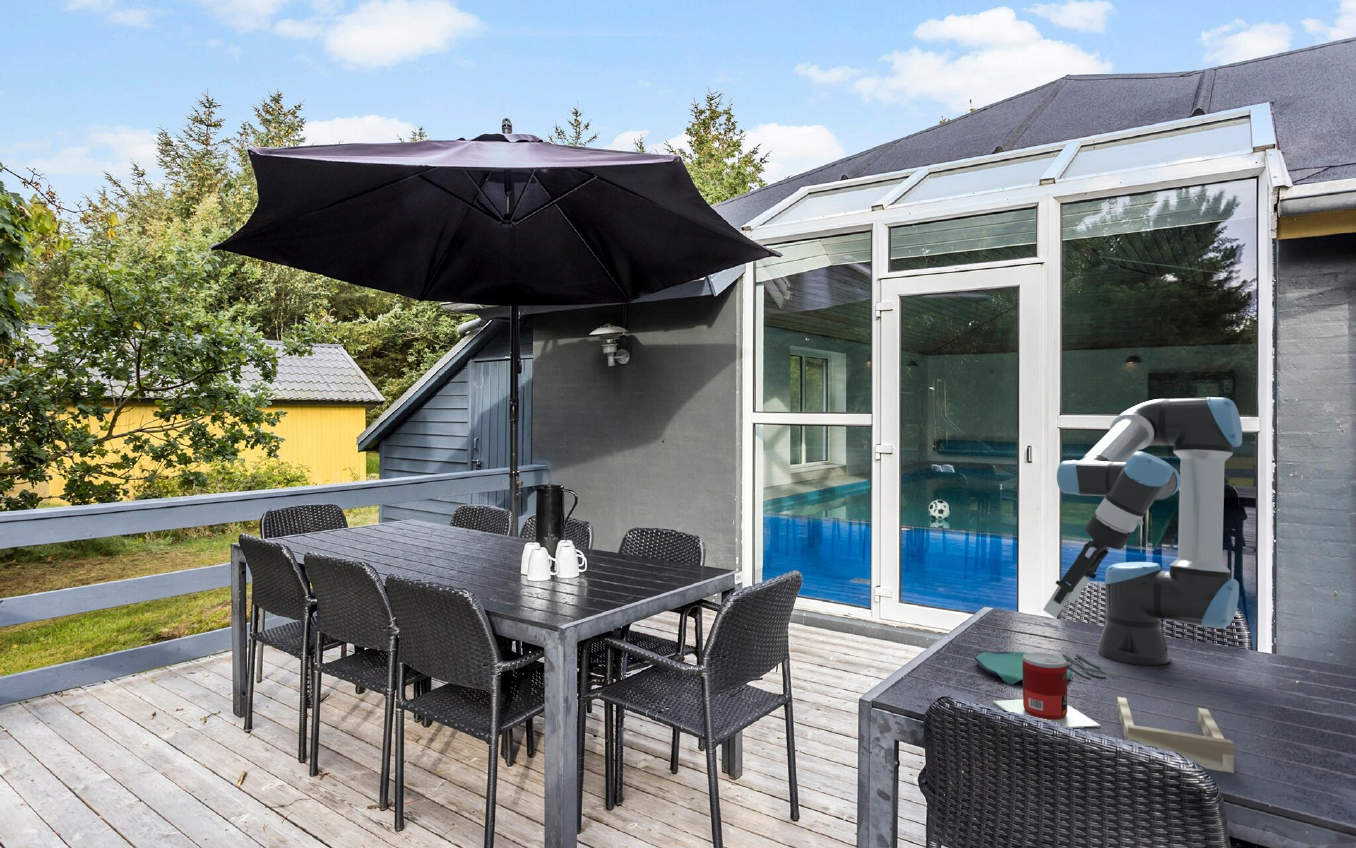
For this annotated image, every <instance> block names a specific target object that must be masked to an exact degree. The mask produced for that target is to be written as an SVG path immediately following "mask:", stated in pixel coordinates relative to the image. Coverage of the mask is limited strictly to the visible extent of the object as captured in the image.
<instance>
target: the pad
mask: <svg viewBox="0 0 1356 848" xmlns="http://www.w3.org/2000/svg"><path fill="white" fill-rule="evenodd" d="M993 704H994V705H995V706H998V708H1000V709H1001V710H1002V711H1004V710H1005V711H1009V712H1015V713H1018V714H1022V715H1030V714H1029V713H1027V712H1026V711H1025V709H1024V706H1023V698H1022V699H1021V698H1020V699H1004V700H1003V699H1002V700H993ZM1005 711H1004V712H1005ZM1030 716H1033V715H1030ZM1034 717H1035V716H1034ZM1038 718H1039V717H1038ZM1047 720H1051V719H1047ZM1051 722H1058V723H1059V724H1065V725H1066V726H1069V727H1077V728H1079V729H1085V728H1084V727H1097V728H1101V724H1099V723H1098V722H1096V721H1094V720H1093V719H1091V718H1090V717H1088V716H1087V715H1084V713H1081V712H1080V711H1079V710H1077V709H1075V708H1074V707H1072V706H1070V705H1069V704H1067V714H1066V717H1064V718H1062V719H1057V720H1051Z"/></svg>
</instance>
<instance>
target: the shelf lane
mask: <svg viewBox="0 0 1356 848" xmlns="http://www.w3.org/2000/svg"><path fill="white" fill-rule="evenodd" d="M1116 699H1117V703H1116V704H1117V706H1116V707H1117V714H1118V718H1119V722H1121V723H1120V726H1121V730H1122V729H1123V730H1122V734H1123V733H1124V734H1123V737H1124V736H1125V738H1124V740H1125V739H1127V740H1128V741H1133V742H1136V743H1142V744H1145V745H1147V746H1155V747H1157V748H1162V749H1164V750H1169V751H1174V752H1177V753H1180V754H1181V755H1184V756H1186V758H1189V759H1190V760H1193V762H1195V763H1198V764H1199V765H1203V767H1205V768H1204V769H1206V770H1212V771H1218V772H1224V773H1230V774H1235V751H1234V750H1235V748H1234V747H1235V743H1234V741H1233V739H1226V738H1224V736H1223V734H1222V732H1221V730H1220V729H1219V727H1218V725H1217V723H1216V721H1215V720H1214V718H1213V716H1212V715H1211V713H1210V711H1209V709H1208V708H1203V707H1197V724H1198V726H1199V727H1200V729H1201V731H1202V733H1203V735H1201V734H1194V733H1188V732H1182V731H1181V732H1180V731H1173V730H1167V729H1161V728H1160V729H1159V728H1155V727H1148V726H1142V725H1141V726H1140V725H1135V723H1134V720H1133V717H1132V713H1131V711H1130V707H1129V704H1128V700H1127V697H1124V696H1123V697H1121V696H1117V698H1116Z"/></svg>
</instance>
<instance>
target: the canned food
mask: <svg viewBox="0 0 1356 848" xmlns="http://www.w3.org/2000/svg"><path fill="white" fill-rule="evenodd" d="M1026 653H1027V654H1024V655H1023V681H1022V699H1023V706H1024V709H1025V711H1026V712H1027V713H1029V714H1030V715H1033V716H1035V717H1039V718H1043V719H1051V720H1057V719H1062V718H1064V717H1066V714H1067V705H1068V681H1067V669H1068V668H1067V663H1068V662H1067V660H1066V658H1064V657H1063V656H1059V655H1056V654H1052V653H1046V652H1026Z"/></svg>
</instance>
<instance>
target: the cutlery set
mask: <svg viewBox="0 0 1356 848" xmlns="http://www.w3.org/2000/svg"><path fill="white" fill-rule="evenodd" d="M1027 653H1028V652H1027V651H993V652H982V653H980V654H979V655H977V656H976V657H975V658H974V660H975V661H976V663H977V665H978V666H979V667H980V668H981V669H982V670H984V671H987V672H988V673H990V674H992V675H995V676H998V677H1000V678H1001V679H1002V680H1003V681H1004V683H1006V684H1008V685H1011V686H1013V685H1014V684H1016V683H1017V682H1023V655H1024V654H1027ZM1075 657H1076V658H1077V659H1079V660H1081V661H1083V662H1084V663H1086V664H1087V665H1089V666H1092V667H1094V669H1093V668H1091V667H1090V668H1088V667H1086V666H1085V665H1083V664H1082V663H1081V662H1079V661H1078V660H1076V659H1074V658H1073V657H1071V656H1070V655H1068V654H1066V653H1065V654H1064V653H1063V654H1062V658H1064V659H1067V660H1069V661H1071V662H1073V663H1075V664H1077V666H1080V667H1082V668H1083V669H1084V672H1085V673H1084V672H1082V671H1081V670H1079V669H1077V668H1075V667H1073V664H1070V663H1069V662H1067V682H1068V681H1069V679H1070V678H1072V676H1073V674H1072V673H1073V672H1074V673H1076V674H1078V675H1080V676H1082V677H1083V678H1084V679H1085V678H1086V679H1089V680H1091V679H1092V677H1094V678H1095V677H1096V678H1101V679H1102V678H1106V676H1109V677H1111V678H1113V679H1120V676H1118V675H1116V674H1115V673H1113V672H1112V671H1111V670H1110V669H1108V667H1105V666H1103V665H1099V664H1096V663H1094V662H1092V661H1091V660H1089V659H1088V658H1086V657H1085V656H1083V655H1081V654H1080V653H1076V654H1075ZM1095 668H1097V669H1098V670H1097V669H1095ZM1069 669H1070V670H1069ZM1072 671H1073V672H1072ZM1090 672H1094V673H1097V674H1099V675H1101V676H1099V675H1095V674H1094V673H1090ZM1086 673H1087V674H1088V675H1087V674H1086ZM1089 675H1090V676H1089Z"/></svg>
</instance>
